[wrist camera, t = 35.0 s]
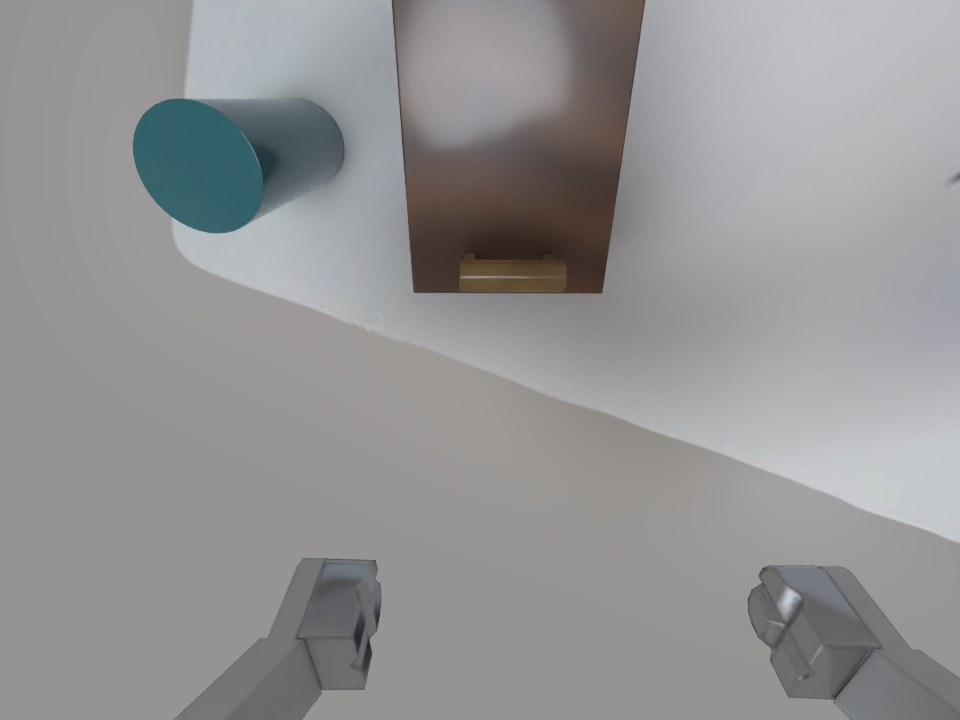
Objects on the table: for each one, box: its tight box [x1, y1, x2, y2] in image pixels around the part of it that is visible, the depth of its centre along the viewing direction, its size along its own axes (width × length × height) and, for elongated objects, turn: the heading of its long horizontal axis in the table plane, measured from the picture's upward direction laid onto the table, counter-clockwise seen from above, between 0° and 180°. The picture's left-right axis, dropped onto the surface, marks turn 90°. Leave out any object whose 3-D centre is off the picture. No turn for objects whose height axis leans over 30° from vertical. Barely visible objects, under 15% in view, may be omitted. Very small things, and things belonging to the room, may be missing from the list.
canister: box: [133, 99, 344, 233], centre depth 25 cm, size 5×5×13 cm
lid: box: [392, 0, 645, 293], centre depth 25 cm, size 16×13×5 cm
